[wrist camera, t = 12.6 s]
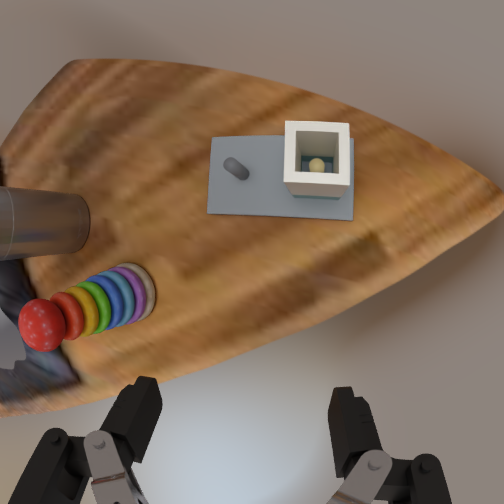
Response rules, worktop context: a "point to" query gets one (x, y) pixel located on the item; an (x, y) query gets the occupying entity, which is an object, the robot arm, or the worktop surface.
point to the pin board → (266, 181)
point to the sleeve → (317, 146)
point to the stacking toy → (88, 307)
